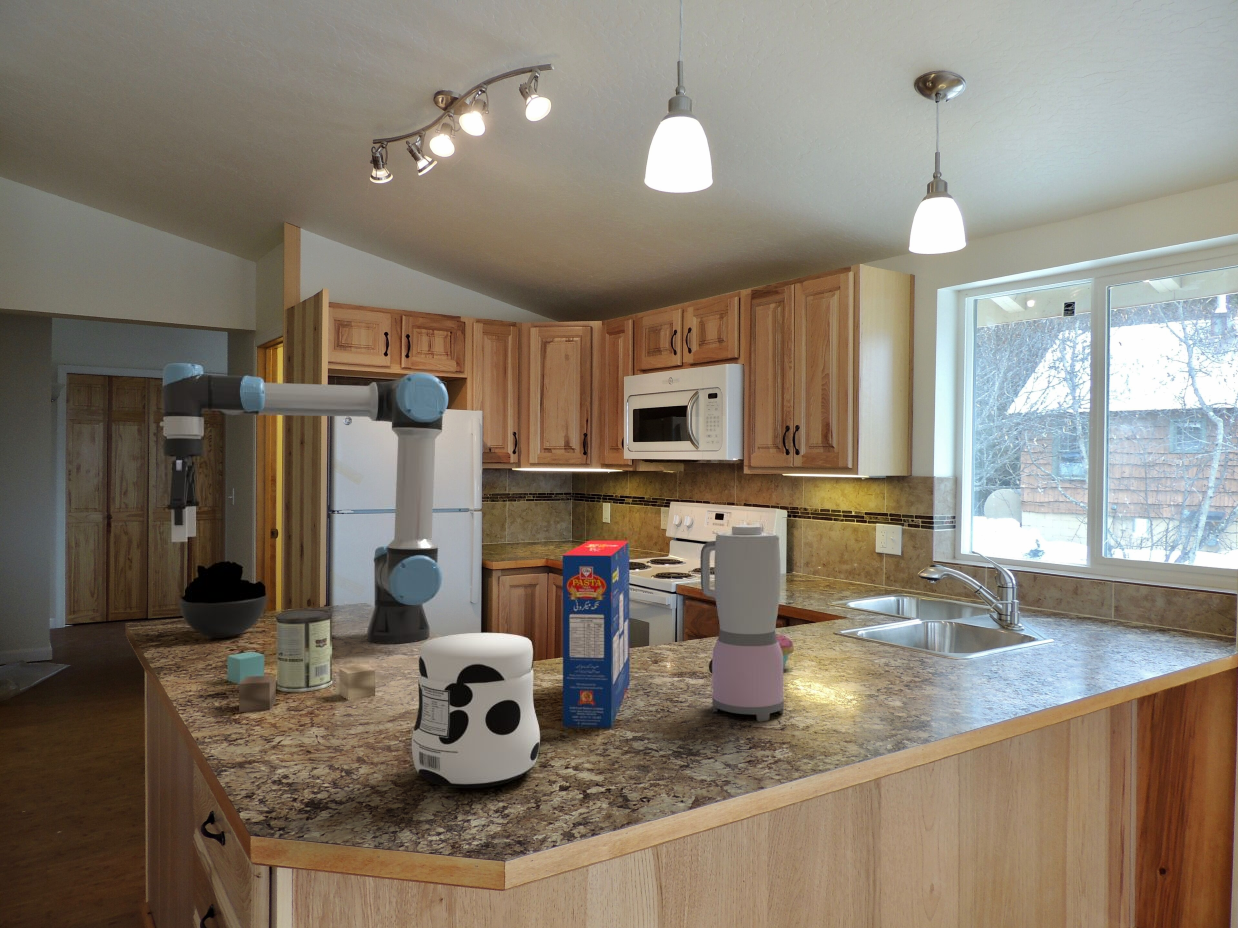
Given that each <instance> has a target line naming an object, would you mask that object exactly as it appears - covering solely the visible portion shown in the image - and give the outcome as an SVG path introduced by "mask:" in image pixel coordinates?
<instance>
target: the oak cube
mask: <svg viewBox="0 0 1238 928" xmlns="http://www.w3.org/2000/svg"><path fill="white" fill-rule="evenodd" d="M338 674H339V677H338V679H339V681H338V684H339V691H338V692H339V696H341V697H342V696H343V697H342V698H344V699H345V698H346V700H347V699H348V700H350V701H353V700H352V699H355V700H359V699H358V698H361V699H366V698H365V697H367V698H372V697H371V696H373V697H376V669H375V668H373V667H371V666H369V665H367V664H361V665H354V666H347V667H341V668H339V672H338ZM348 700H347V701H348Z"/></svg>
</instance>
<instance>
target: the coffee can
mask: <svg viewBox="0 0 1238 928" xmlns="http://www.w3.org/2000/svg"><path fill="white" fill-rule="evenodd" d="M332 618H333V611H332V610H330V609H323V608H305V609H304V608H303V609H295V610H288V611H284V612H279V613H277V614H276V615H275V619H276V690H278V691H281V692H285V693H305V692H313V691H317V690H318V691H319V690H321V689H325V688H328V687H330V686H331V685H333V636H332V635H333V632H332V631H333V629H332V628H333V626H332V625H333V621H332Z"/></svg>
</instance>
